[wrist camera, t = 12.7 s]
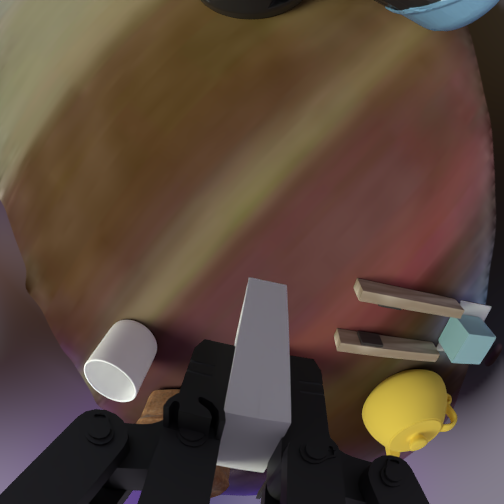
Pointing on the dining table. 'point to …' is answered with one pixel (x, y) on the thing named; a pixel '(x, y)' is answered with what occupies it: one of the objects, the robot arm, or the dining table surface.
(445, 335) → the block
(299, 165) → the dining table surface
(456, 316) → the chute
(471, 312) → the pad
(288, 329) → the robot arm
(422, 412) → the teapot
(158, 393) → the bread
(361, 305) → the dining table surface
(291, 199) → the dining table surface
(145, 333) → the mug
